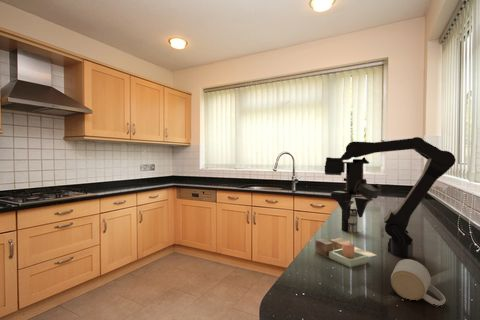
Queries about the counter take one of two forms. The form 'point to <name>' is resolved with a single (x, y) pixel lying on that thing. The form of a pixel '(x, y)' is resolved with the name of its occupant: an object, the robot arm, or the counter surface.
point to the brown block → (323, 247)
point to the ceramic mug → (414, 282)
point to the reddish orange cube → (348, 250)
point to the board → (362, 252)
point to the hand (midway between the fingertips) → (354, 218)
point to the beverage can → (350, 221)
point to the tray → (356, 261)
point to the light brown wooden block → (338, 243)
